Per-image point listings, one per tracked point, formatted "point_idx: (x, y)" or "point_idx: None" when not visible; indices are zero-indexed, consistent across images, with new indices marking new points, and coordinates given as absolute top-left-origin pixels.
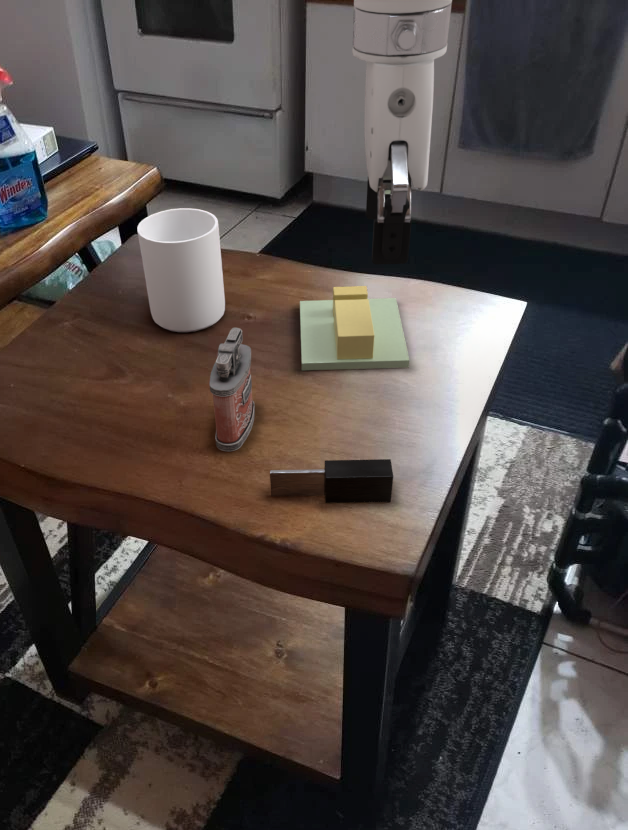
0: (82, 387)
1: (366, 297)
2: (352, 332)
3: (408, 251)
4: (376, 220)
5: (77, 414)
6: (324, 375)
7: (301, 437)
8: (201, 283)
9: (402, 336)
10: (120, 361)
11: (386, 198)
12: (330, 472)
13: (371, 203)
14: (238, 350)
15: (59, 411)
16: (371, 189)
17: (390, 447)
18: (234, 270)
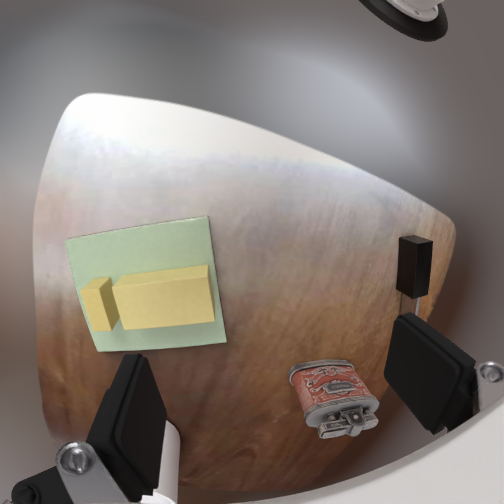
0: (265, 460)
1: (101, 287)
2: (203, 304)
3: (425, 322)
4: (442, 428)
5: (297, 452)
6: (233, 313)
7: (338, 318)
8: (163, 455)
9: (150, 227)
10: (228, 453)
11: (145, 419)
12: (424, 292)
13: (160, 436)
14: (334, 419)
15: (293, 459)
16: (156, 467)
17: (356, 235)
18: (61, 398)
